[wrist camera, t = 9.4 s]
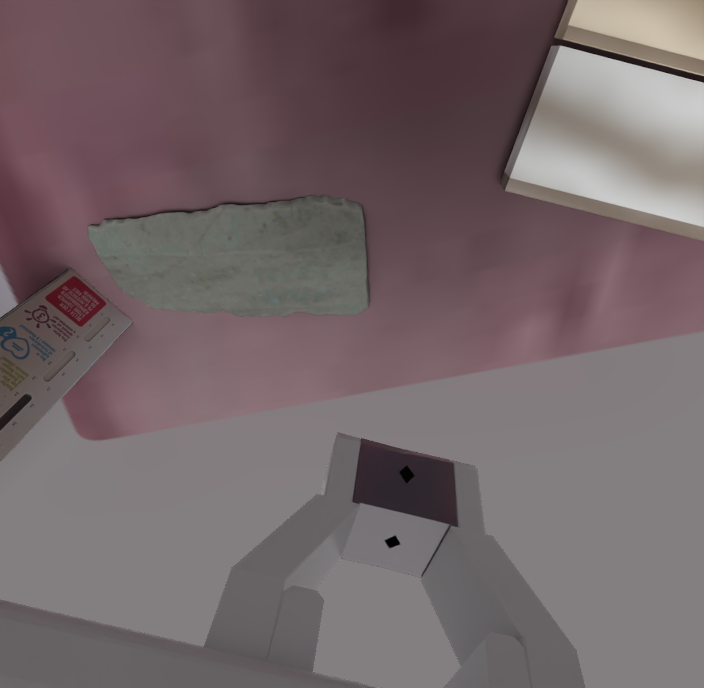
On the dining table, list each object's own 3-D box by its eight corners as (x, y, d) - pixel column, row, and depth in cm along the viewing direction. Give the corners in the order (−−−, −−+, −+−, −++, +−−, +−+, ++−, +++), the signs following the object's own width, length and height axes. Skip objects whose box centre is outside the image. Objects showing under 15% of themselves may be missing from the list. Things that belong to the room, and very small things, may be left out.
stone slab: (376, 301, 41) (363, 188, 34) (373, 321, 39) (359, 205, 32) (137, 309, 45) (85, 209, 38) (123, 328, 43) (65, 225, 36)
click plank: (551, 45, 28) (560, 45, 26) (909, 138, 29) (941, 144, 27) (499, 183, 32) (504, 190, 31) (812, 262, 33) (835, 274, 31)
